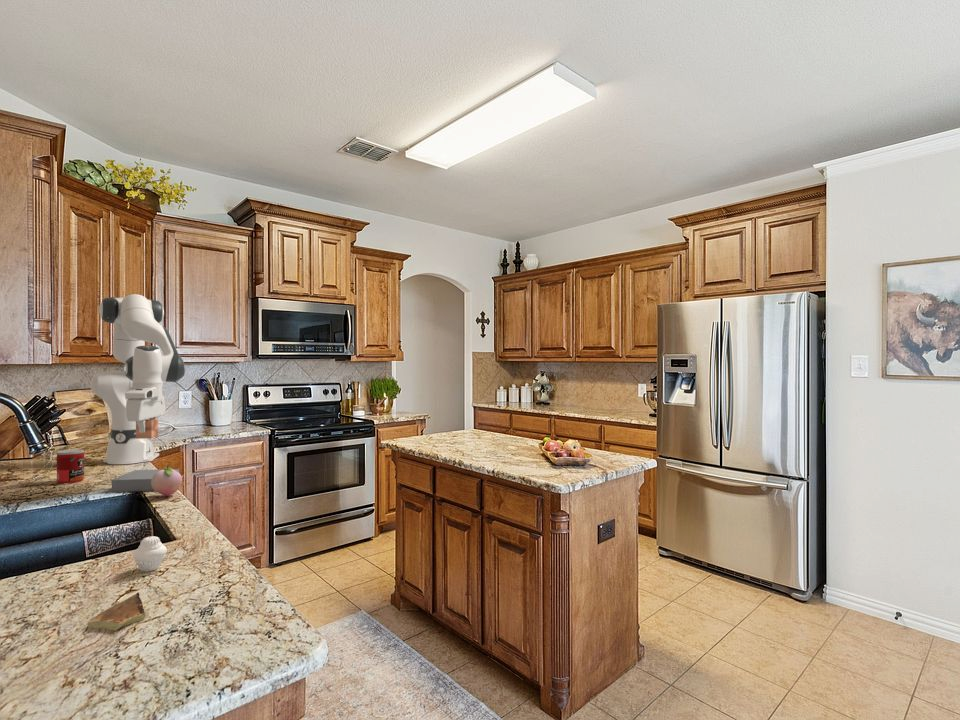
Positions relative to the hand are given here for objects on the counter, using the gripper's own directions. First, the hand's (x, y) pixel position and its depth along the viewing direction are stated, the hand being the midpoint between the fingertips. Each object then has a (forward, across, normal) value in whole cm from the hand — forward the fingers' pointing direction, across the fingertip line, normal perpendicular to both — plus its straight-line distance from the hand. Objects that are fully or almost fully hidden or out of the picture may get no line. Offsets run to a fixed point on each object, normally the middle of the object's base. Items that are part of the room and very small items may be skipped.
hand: (147, 431), depth 180 cm
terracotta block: (+2, 0, 0) cm, 2 cm away
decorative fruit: (+19, +16, +13) cm, 28 cm away
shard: (+20, +97, +39) cm, 106 cm away
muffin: (+19, +76, +35) cm, 86 cm away
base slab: (+19, 0, 0) cm, 19 cm away
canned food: (+19, -10, -30) cm, 37 cm away
